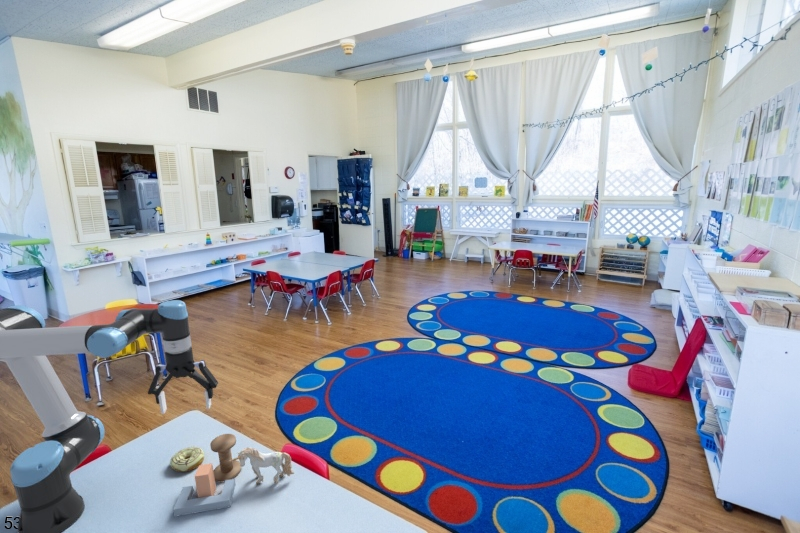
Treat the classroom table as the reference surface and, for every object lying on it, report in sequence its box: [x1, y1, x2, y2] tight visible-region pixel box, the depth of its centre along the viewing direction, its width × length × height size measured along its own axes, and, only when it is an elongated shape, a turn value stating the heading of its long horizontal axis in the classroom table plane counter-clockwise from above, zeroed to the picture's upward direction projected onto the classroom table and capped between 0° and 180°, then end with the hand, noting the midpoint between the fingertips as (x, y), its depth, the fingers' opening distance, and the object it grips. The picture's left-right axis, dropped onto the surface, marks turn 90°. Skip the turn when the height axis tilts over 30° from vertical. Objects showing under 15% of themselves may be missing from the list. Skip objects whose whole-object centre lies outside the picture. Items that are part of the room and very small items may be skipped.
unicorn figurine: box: [229, 446, 295, 485], centre depth 132 cm, size 7×20×13 cm, turn 111°
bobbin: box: [209, 433, 242, 483], centre depth 136 cm, size 9×9×12 cm
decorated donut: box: [169, 446, 205, 473], centre depth 142 cm, size 10×11×4 cm
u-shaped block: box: [173, 478, 237, 517], centre depth 125 cm, size 16×9×2 cm, turn 102°
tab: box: [194, 462, 217, 498], centre depth 126 cm, size 4×5×10 cm
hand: (186, 409), depth 128 cm, fingers open, 13 cm apart
